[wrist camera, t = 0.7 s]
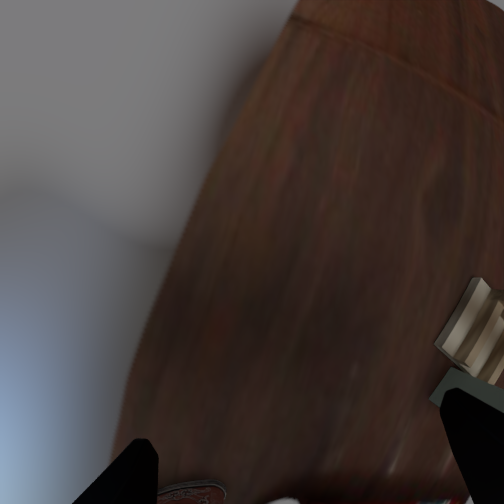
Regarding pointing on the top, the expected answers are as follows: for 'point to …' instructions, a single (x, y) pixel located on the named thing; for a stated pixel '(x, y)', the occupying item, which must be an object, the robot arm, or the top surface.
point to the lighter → (193, 493)
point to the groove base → (476, 332)
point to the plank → (469, 389)
